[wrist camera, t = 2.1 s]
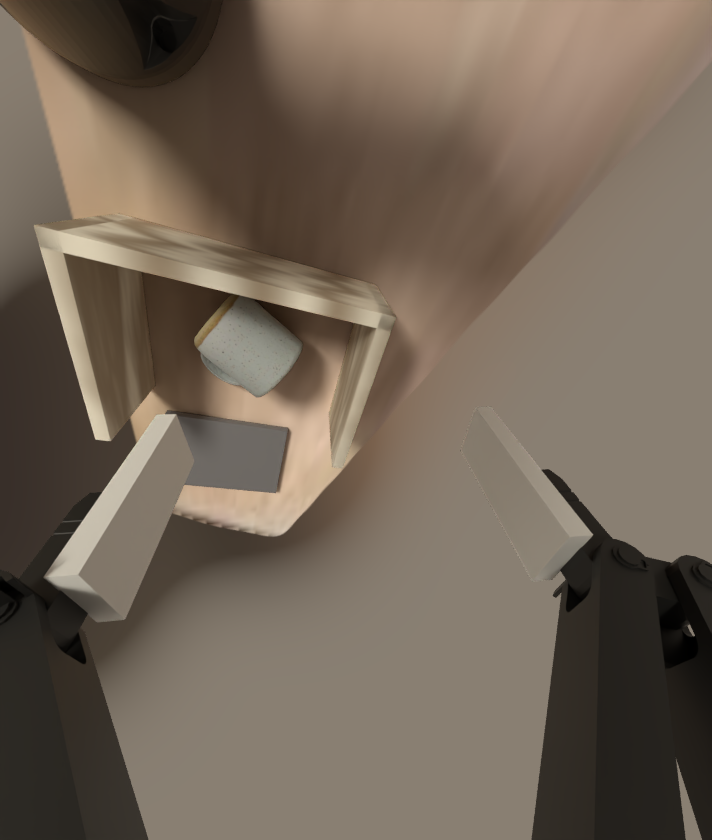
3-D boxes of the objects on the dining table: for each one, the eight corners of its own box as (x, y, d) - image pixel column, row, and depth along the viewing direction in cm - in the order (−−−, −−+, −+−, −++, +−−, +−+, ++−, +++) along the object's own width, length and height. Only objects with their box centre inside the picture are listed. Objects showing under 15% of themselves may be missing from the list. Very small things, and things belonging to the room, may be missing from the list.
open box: (144, 383, 36) (95, 439, 28) (118, 213, 26) (33, 224, 18) (337, 414, 41) (342, 468, 34) (375, 284, 32) (396, 317, 24)
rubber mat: (174, 479, 46) (172, 483, 45) (167, 410, 38) (164, 414, 38) (276, 489, 49) (275, 493, 49) (287, 427, 42) (287, 431, 41)
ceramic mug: (242, 276, 30) (223, 300, 24) (306, 332, 34) (303, 364, 28) (187, 348, 34) (158, 384, 28) (250, 390, 38) (236, 430, 32)
